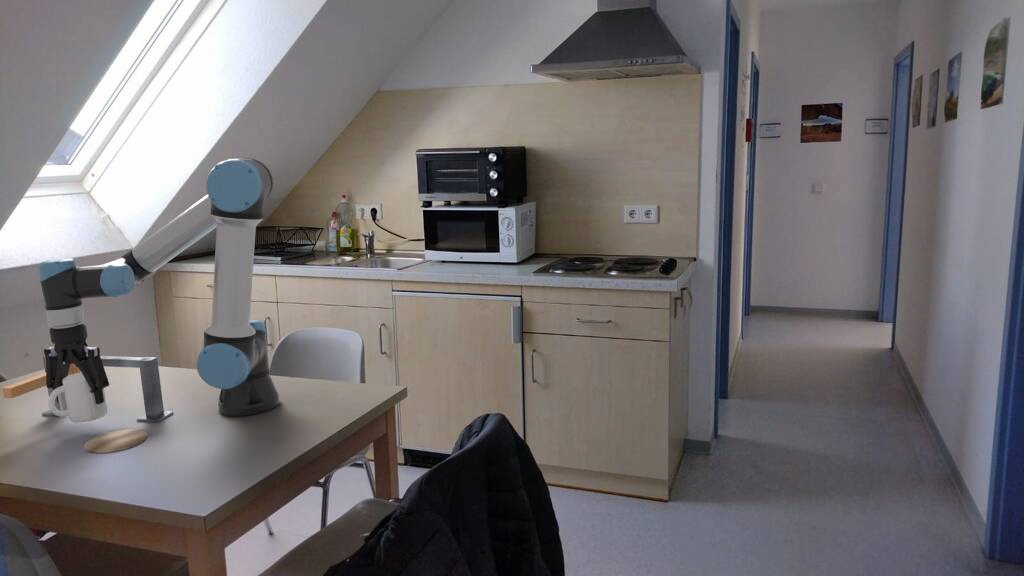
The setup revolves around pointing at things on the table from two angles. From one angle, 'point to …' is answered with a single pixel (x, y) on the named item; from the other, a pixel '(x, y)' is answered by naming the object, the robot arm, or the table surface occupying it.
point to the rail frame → (149, 385)
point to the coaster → (115, 441)
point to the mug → (75, 399)
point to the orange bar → (32, 384)
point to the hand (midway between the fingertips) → (83, 415)
